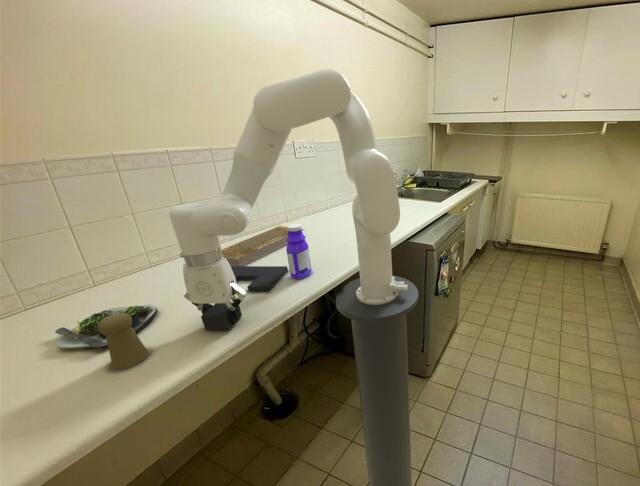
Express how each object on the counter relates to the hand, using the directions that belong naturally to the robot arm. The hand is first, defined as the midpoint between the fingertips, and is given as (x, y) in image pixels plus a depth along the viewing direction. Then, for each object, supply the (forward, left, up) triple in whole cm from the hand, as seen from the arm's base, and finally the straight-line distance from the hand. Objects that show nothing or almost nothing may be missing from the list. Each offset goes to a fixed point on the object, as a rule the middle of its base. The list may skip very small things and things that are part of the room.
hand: (223, 320), depth 79 cm
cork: (+13, +13, -1) cm, 18 cm away
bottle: (-10, -27, -1) cm, 29 cm away
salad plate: (+27, +3, -1) cm, 28 cm away
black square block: (0, 0, -1) cm, 1 cm away
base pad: (+6, -23, -1) cm, 24 cm away
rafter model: (+15, -50, -1) cm, 53 cm away
